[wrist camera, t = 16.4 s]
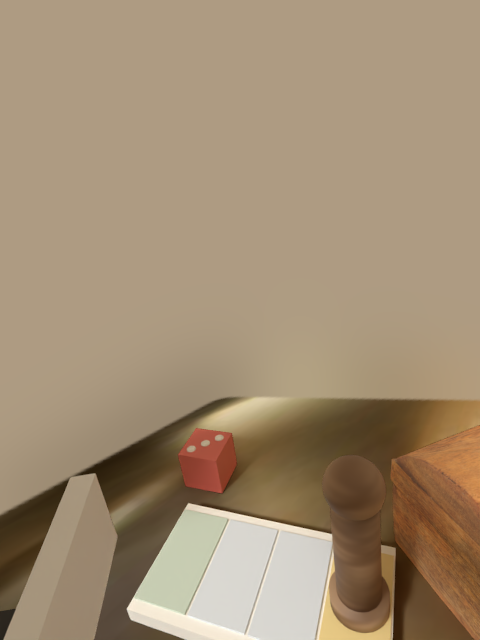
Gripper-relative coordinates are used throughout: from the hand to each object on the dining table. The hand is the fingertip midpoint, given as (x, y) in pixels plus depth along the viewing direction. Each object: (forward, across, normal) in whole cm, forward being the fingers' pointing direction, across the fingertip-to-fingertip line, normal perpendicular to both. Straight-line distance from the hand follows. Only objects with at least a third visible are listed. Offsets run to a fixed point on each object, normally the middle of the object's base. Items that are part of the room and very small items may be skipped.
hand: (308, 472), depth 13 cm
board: (+15, -2, -28) cm, 32 cm away
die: (+31, -7, -28) cm, 42 cm away
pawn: (+12, +5, -26) cm, 29 cm away
